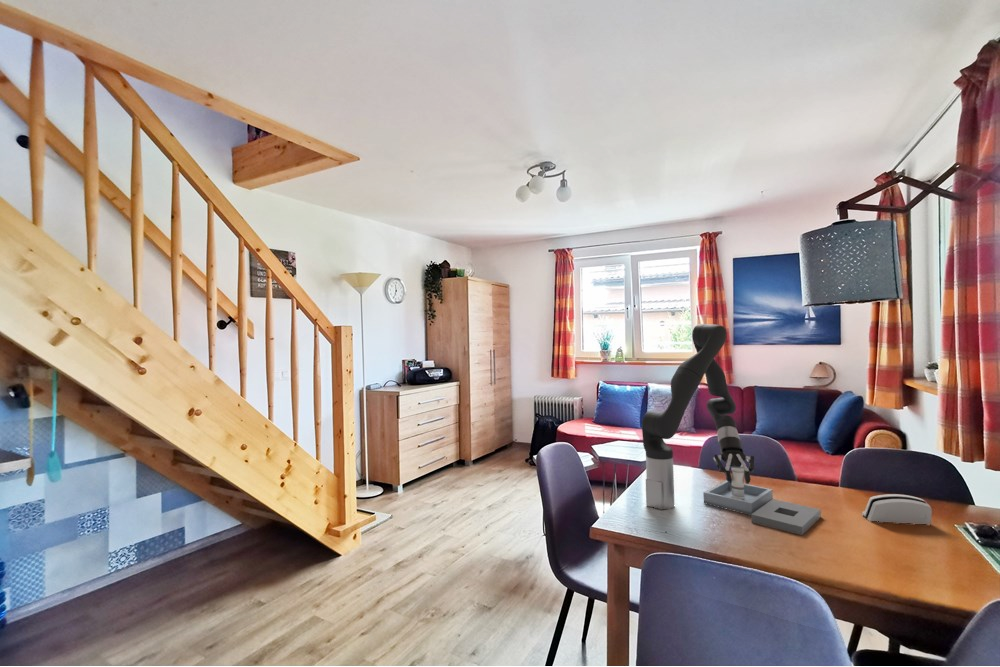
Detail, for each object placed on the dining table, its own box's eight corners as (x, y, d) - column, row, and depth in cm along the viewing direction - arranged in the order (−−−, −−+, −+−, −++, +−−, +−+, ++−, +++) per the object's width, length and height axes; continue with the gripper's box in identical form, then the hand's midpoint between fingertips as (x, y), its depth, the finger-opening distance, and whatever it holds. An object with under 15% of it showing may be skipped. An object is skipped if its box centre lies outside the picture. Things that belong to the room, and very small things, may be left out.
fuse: (741, 501, 161) (741, 469, 162) (729, 498, 164) (729, 467, 165) (746, 499, 164) (746, 468, 165) (734, 496, 167) (733, 465, 168)
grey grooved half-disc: (921, 519, 145) (927, 493, 142) (931, 530, 141) (937, 503, 138) (860, 515, 149) (864, 490, 146) (868, 525, 145) (872, 499, 142)
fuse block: (802, 535, 136) (801, 526, 136) (751, 522, 146) (751, 514, 146) (820, 517, 149) (820, 509, 149) (773, 506, 159) (772, 499, 159)
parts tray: (751, 515, 151) (751, 503, 152) (703, 503, 163) (703, 492, 164) (772, 500, 165) (772, 489, 165) (727, 490, 177) (726, 480, 177)
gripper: (710, 435, 173) (718, 476, 162) (751, 436, 170) (763, 478, 158) (707, 446, 178) (716, 486, 167) (748, 447, 175) (759, 488, 163)
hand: (739, 482), depth 162 cm, fingers open, 5 cm apart
